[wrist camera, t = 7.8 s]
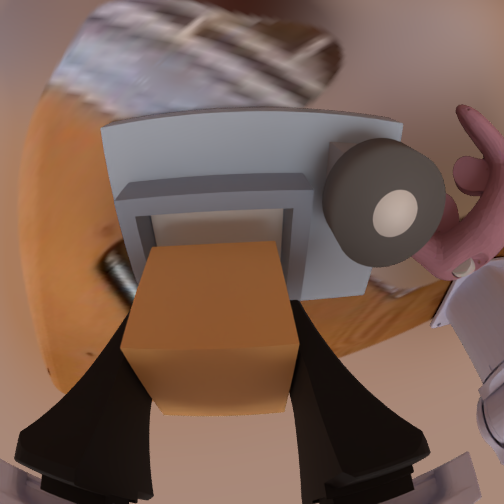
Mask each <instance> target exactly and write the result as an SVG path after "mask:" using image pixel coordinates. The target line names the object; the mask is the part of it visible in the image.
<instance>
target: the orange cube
mask: <svg viewBox="0 0 504 504" xmlns="http://www.w3.org/2000/svg"><path fill="white" fill-rule="evenodd" d="M299 344H300V343H299V339H298V334H297V330H296V326H295V321H294V317H293V313H292V308H291V304H290V300H289V295H288V291H287V287H286V283H285V279H284V274H283V270H282V266H281V262H280V258H279V254H278V250H277V246H276V242H275V241H260V242H238V243H217V244H197V245H178V246H159V247H152V248H151V251H150V254H149V256H148V259H147V262H146V265H145V268H144V271H143V274H142V277H141V280H140V283H139V286H138V289H137V292H136V295H135V298H134V301H133V304H132V308H131V311H130V314H129V318H128V321H127V325H126V328H125V332H124V335H123V339H122V343H121V346H120V349H121V350H122V352H123V354H124V355H125V357H126V359H127V360H128V362H129V364H130V365H131V367H132V369H133V370H134V372H135V373H136V375H137V377H138V378H139V380H140V381H141V383H142V384H143V386H144V387H145V389H146V390H147V392H148V393H149V395H150V396H151V398H152V399H153V401H154V402H155V403H156V405H157V406H158V408H159V409H160V411H161V412H162V413H163V414H164V415H178V416H236V415H237V416H238V415H254V414H255V415H256V414H269V413H279V412H284V411H285V407H286V403H287V399H288V395H289V390H290V386H291V381H292V377H293V372H294V368H295V363H296V358H297V354H298V349H299Z"/></svg>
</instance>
